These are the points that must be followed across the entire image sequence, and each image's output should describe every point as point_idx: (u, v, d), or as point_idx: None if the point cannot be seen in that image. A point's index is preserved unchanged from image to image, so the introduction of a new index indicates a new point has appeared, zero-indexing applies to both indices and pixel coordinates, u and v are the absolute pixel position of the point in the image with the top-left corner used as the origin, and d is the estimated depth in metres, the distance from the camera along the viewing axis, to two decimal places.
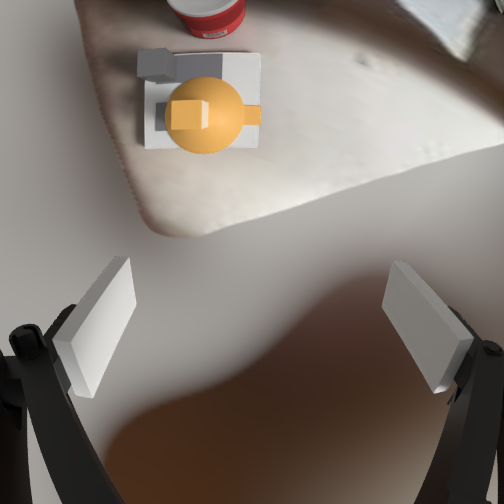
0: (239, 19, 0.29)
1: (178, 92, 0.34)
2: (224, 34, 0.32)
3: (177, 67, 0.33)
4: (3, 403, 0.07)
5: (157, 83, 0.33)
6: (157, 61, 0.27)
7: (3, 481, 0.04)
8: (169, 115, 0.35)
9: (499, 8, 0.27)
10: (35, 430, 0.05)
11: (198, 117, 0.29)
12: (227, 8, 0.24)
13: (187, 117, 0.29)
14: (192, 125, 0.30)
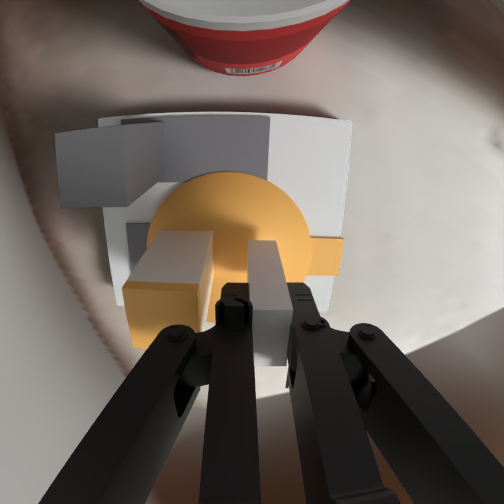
0: None
1: (171, 205, 0.17)
2: (272, 68, 0.15)
3: (166, 146, 0.16)
4: None
5: None
6: (105, 166, 0.10)
7: (134, 468, 0.06)
8: None
9: None
10: (209, 397, 0.07)
11: None
12: (328, 12, 0.07)
13: None
14: None
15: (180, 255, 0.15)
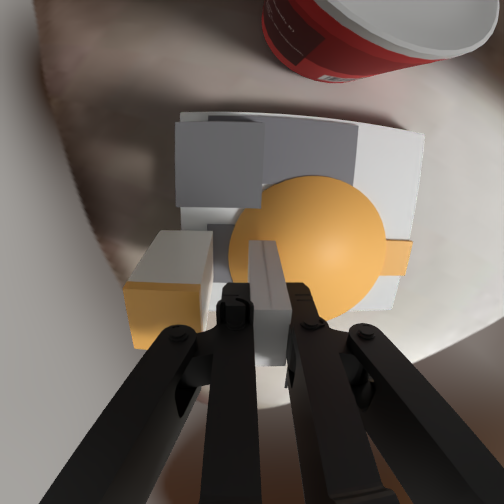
0: None
1: None
2: None
3: None
4: None
5: None
6: (240, 164, 0.11)
7: (135, 468, 0.06)
8: (238, 254, 0.18)
9: None
10: (210, 397, 0.07)
11: None
12: (465, 52, 0.07)
13: None
14: None
15: (181, 255, 0.15)
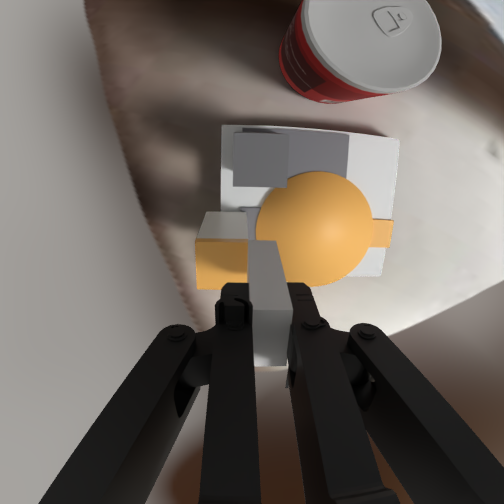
0: None
1: (279, 194, 0.24)
2: None
3: None
4: None
5: None
6: (274, 159, 0.17)
7: (134, 468, 0.06)
8: (263, 229, 0.25)
9: None
10: (209, 397, 0.07)
11: (242, 272, 0.19)
12: None
13: (224, 271, 0.19)
14: None
15: (229, 225, 0.21)
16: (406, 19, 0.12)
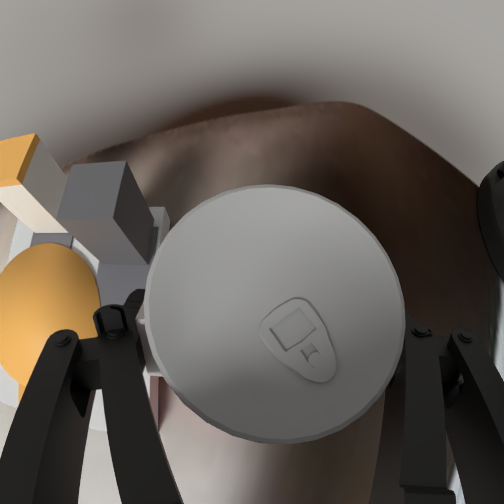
0: None
1: (79, 268, 0.18)
2: None
3: (127, 266, 0.18)
4: (70, 387, 0.09)
5: None
6: (87, 202, 0.13)
7: (54, 469, 0.05)
8: (48, 251, 0.18)
9: None
10: (105, 408, 0.07)
11: None
12: None
13: (2, 160, 0.13)
14: None
15: (49, 190, 0.16)
16: (310, 369, 0.08)
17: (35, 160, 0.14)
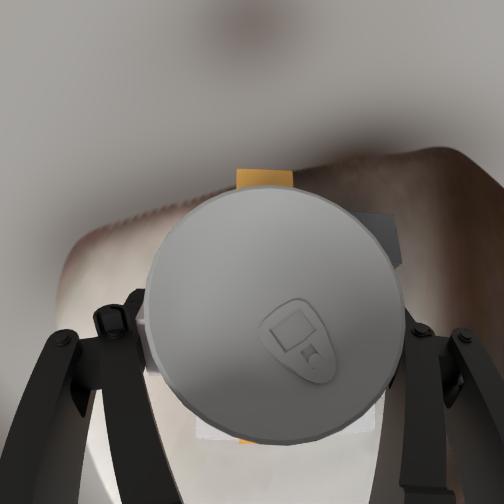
0: None
1: None
2: None
3: None
4: (70, 387, 0.09)
5: None
6: None
7: (54, 469, 0.05)
8: None
9: None
10: (105, 408, 0.07)
11: None
12: None
13: None
14: None
15: None
16: (310, 370, 0.08)
17: None
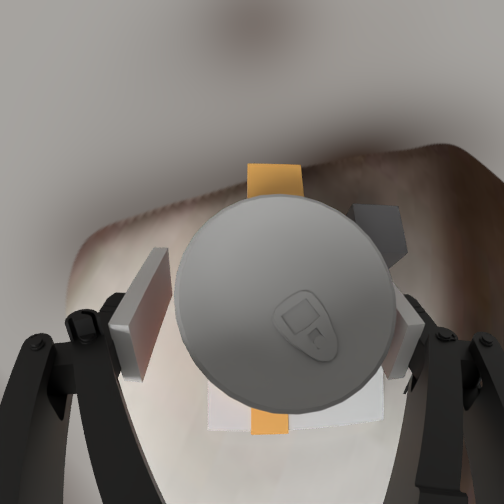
0: None
1: None
2: None
3: None
4: (47, 391, 0.09)
5: None
6: (383, 239, 0.17)
7: (36, 471, 0.05)
8: None
9: None
10: (81, 414, 0.06)
11: None
12: None
13: (270, 188, 0.17)
14: (254, 195, 0.17)
15: None
16: (315, 349, 0.10)
17: None
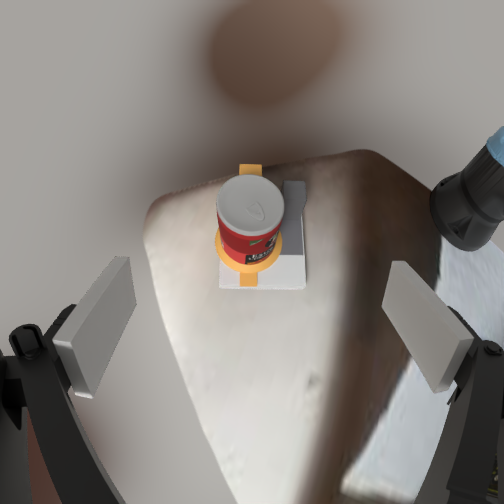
0: (233, 253, 0.42)
1: None
2: (222, 246, 0.44)
3: (290, 220, 0.47)
4: (3, 403, 0.07)
5: None
6: (295, 194, 0.42)
7: (3, 481, 0.04)
8: None
9: None
10: (35, 430, 0.05)
11: None
12: (223, 223, 0.35)
13: (248, 173, 0.42)
14: None
15: None
16: (257, 217, 0.35)
17: None
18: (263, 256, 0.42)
